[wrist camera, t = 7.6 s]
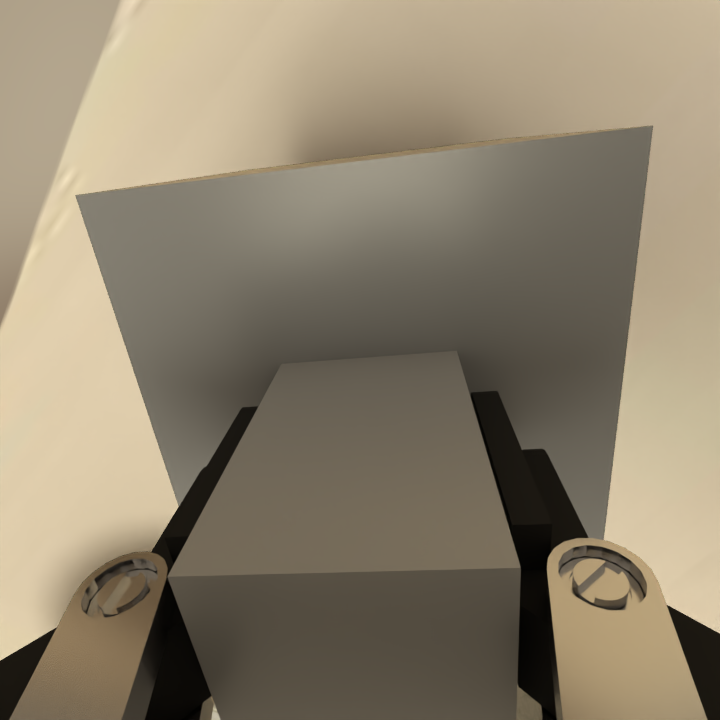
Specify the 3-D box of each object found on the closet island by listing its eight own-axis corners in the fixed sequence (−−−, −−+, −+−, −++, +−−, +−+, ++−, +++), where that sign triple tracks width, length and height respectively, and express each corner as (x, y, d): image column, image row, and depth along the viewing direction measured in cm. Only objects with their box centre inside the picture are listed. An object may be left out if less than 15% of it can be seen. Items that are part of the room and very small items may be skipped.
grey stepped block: (506, 138, 20) (1104, 87, 3) (504, 394, 25) (732, 921, 8) (249, 169, 21) (-334, 254, 4) (294, 408, 26) (104, 889, 9)
